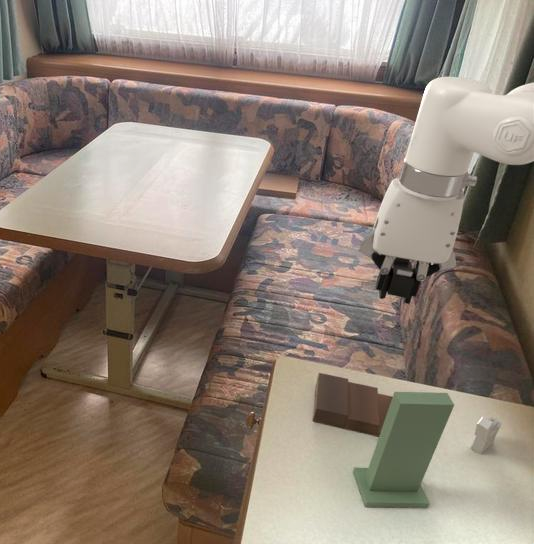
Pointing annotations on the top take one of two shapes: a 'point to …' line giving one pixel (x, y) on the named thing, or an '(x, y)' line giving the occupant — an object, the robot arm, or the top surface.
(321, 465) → the top surface
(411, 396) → the stand
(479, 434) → the white blocky piece
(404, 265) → the clip
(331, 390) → the brown stepped wooden block
